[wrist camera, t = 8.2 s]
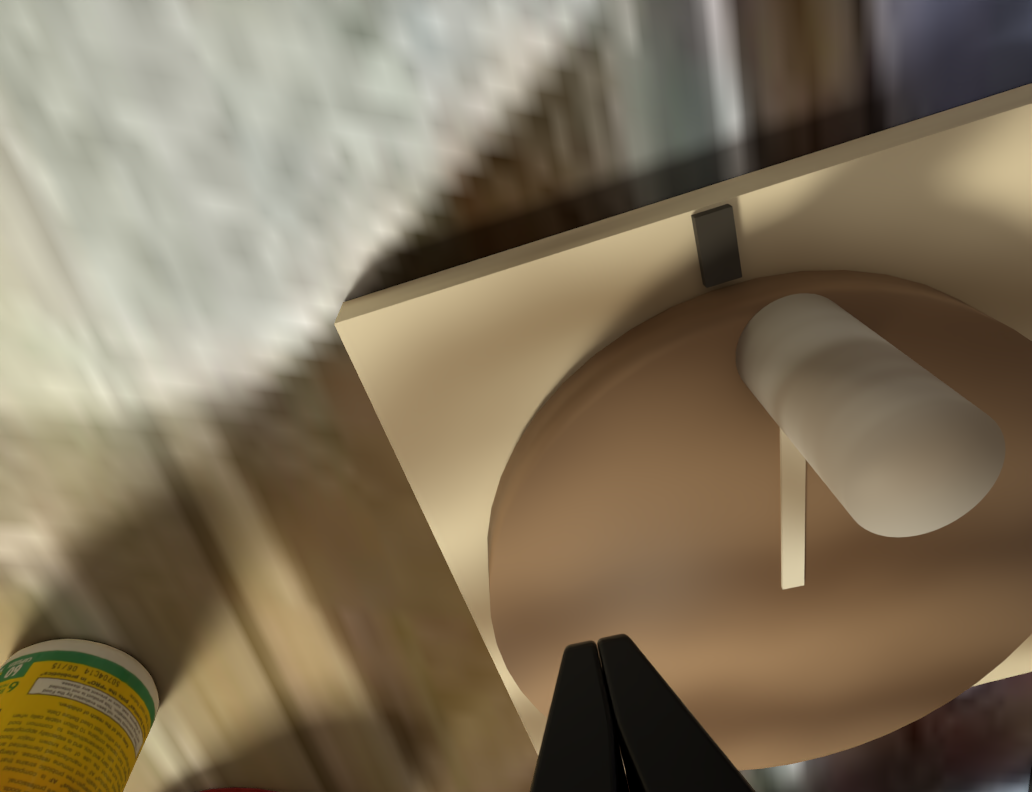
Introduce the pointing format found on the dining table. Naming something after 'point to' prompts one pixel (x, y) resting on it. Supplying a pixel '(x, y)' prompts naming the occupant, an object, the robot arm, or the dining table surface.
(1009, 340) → the knobbed disc on base
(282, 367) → the dining table surface
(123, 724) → the supplement bottle
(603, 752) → the robot arm
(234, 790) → the dark red handled pot
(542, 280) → the stand
